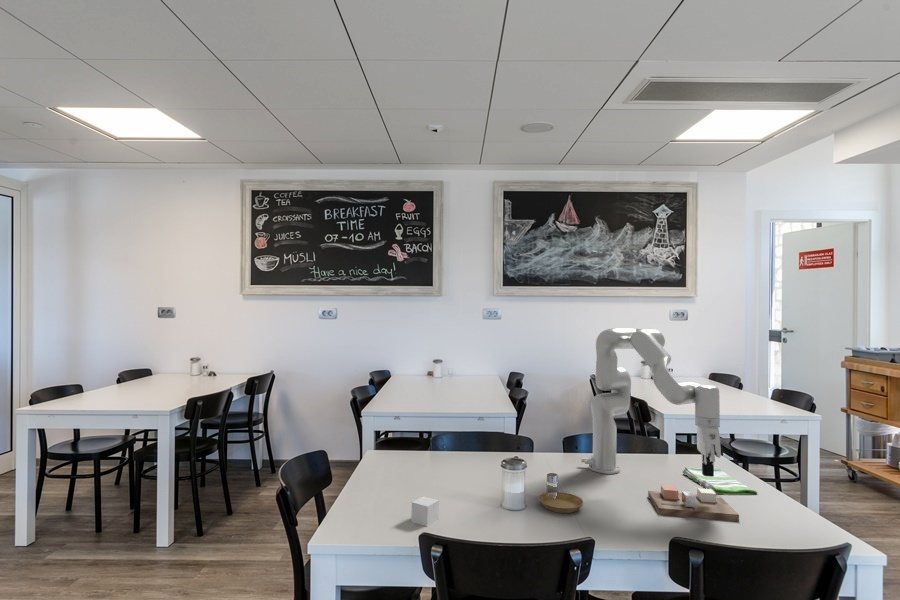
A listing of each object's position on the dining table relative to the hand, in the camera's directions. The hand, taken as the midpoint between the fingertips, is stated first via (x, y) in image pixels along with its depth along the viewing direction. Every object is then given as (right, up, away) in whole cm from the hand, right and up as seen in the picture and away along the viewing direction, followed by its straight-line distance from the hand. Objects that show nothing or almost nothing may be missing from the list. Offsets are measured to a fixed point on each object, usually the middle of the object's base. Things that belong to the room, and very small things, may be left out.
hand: (707, 475), depth 169 cm
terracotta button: (-12, -8, +2) cm, 15 cm away
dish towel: (+16, -12, +23) cm, 31 cm away
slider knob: (-10, -8, -6) cm, 13 cm away
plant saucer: (-51, -10, -3) cm, 52 cm away
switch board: (-7, -10, -2) cm, 13 cm away
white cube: (-96, -8, -16) cm, 98 cm away
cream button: (0, -8, 0) cm, 8 cm away
